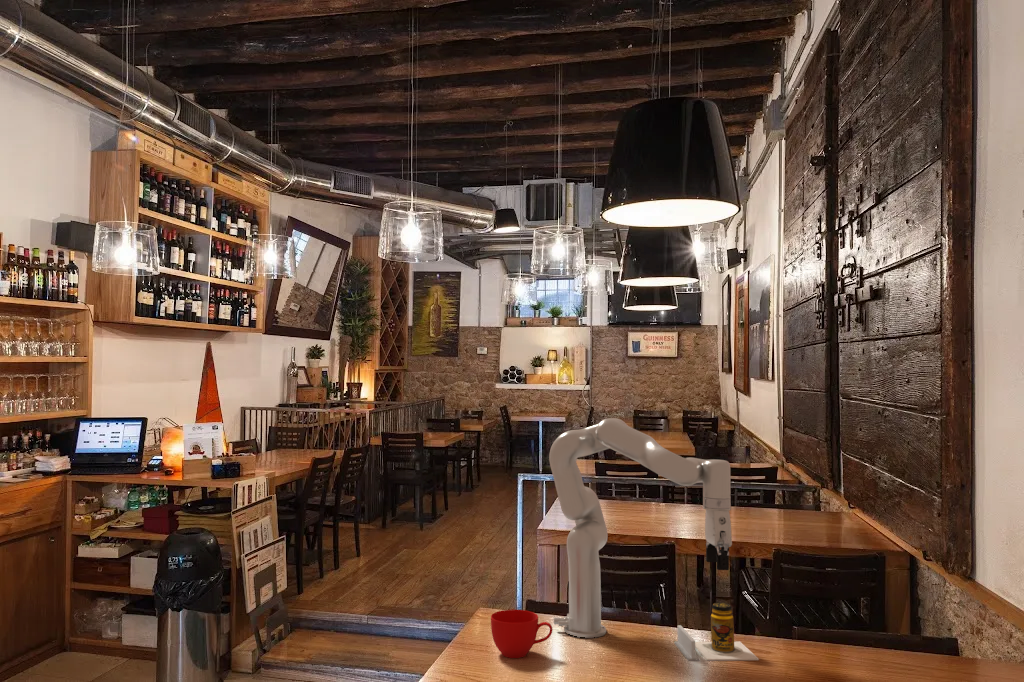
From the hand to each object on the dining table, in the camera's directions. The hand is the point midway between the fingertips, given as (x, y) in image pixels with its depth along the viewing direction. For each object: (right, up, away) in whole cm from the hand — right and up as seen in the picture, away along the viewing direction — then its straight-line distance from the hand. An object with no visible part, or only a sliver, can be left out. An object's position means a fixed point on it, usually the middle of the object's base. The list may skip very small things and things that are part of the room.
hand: (717, 565), depth 199 cm
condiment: (0, -22, -3) cm, 22 cm away
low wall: (-10, -22, -4) cm, 25 cm away
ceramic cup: (-55, -22, -7) cm, 60 cm away
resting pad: (+1, -23, -4) cm, 23 cm away
